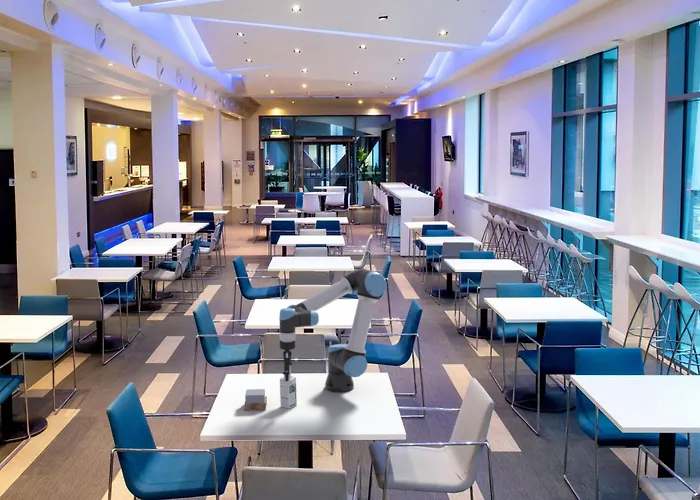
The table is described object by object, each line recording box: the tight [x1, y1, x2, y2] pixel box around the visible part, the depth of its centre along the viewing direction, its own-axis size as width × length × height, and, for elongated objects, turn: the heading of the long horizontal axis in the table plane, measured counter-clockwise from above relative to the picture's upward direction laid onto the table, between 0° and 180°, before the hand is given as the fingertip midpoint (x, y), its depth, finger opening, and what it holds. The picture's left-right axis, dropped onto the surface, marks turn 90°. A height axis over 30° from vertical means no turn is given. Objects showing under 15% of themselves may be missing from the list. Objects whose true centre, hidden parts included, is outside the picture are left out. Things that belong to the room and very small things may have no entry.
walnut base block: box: [244, 395, 268, 412], centre depth 365 cm, size 10×10×4 cm
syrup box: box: [279, 375, 298, 410], centre depth 365 cm, size 6×6×14 cm
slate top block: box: [244, 388, 266, 405], centre depth 365 cm, size 9×9×4 cm
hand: (287, 382), depth 365 cm, fingers open, 13 cm apart
